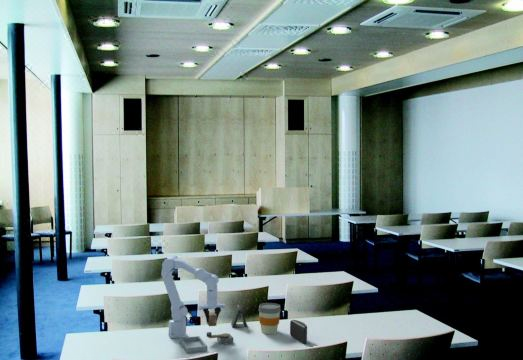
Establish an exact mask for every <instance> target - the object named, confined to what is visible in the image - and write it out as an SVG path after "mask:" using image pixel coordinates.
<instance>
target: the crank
mask: <svg viewBox="0 0 523 360" xmlns="http://www.w3.org/2000/svg"><path fill="white" fill-rule="evenodd" d="M229 334H230V333H228V332H225V333H221V334H219V333H218V334H212V331H207V332H206V337H207V338H208V339H217V338H219V337H229Z"/></svg>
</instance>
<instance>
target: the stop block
mask: <svg viewBox="0 0 523 360" xmlns="http://www.w3.org/2000/svg"><path fill="white" fill-rule="evenodd" d="M217 321H218V319H217V315H216V314H215V311H214V312H209V322H208V323H207V322H206V324H207V326H209V327H215V326H218V325H217Z"/></svg>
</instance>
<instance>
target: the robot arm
mask: <svg viewBox="0 0 523 360" xmlns="http://www.w3.org/2000/svg"><path fill="white" fill-rule="evenodd" d="M161 266H162V267H161V272H160V274H161V278H162V281H163V284H164V287H165V289H166V292H167V295H168V298H169V302H170V303H171V304H170V305H171V307H170V311H171V318H172V319H170V320H168V333H167V334H168V336H169V337H170V338H171V339H177V338H179V339H180V338H185V337H189V335H188V334H187V315H188V312H189V311H188V308H187V306H185V304H184V302H183V301H181V298H180V295H179V292H178V289H177V286H176V284H175V280H174V278H173V272H174V270H177V269H181V270H184V271H186V272H189V273H191V274H192V275H193V276H194V278H195V279H197V280H199V281H201V282H203V284H204V283H205V285H206V304H201V305H198V310H199V311H201V310H202V311H203V313H204V316H205V320H206V321H205V322H206V324H207V323H208V322H209V313H210V310H211V309H213V310H214V313H215V314H216V315H217V320H219V319H218V318H219V315H220V313H221V312H222V309H225V308H226V304H225V303H218V283H219V280H220V279H219V276H218V275H217V274H216V273H212V272H208V271H206V270H205V269H204V267H202V268H201V267H200V268H196V267H194V266H193V265H191V264H190V263H188V262H187V261H185V260H183V258H181V257H178V256H177V255H171V256H170V257H168V258H165V259H164V260H163V261H162V263H161Z"/></svg>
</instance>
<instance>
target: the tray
mask: <svg viewBox="0 0 523 360" xmlns="http://www.w3.org/2000/svg"><path fill="white" fill-rule="evenodd" d="M179 343H180V344H181V347H183V349H184V350H185V353H187V354H192V353H198V352H199V353H200V352H201V353H202V352H207V351H208V345H207V344H206V342H205V341H204V340H203V338H202V337H201V336H199V335H197V336H188V337H179Z"/></svg>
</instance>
